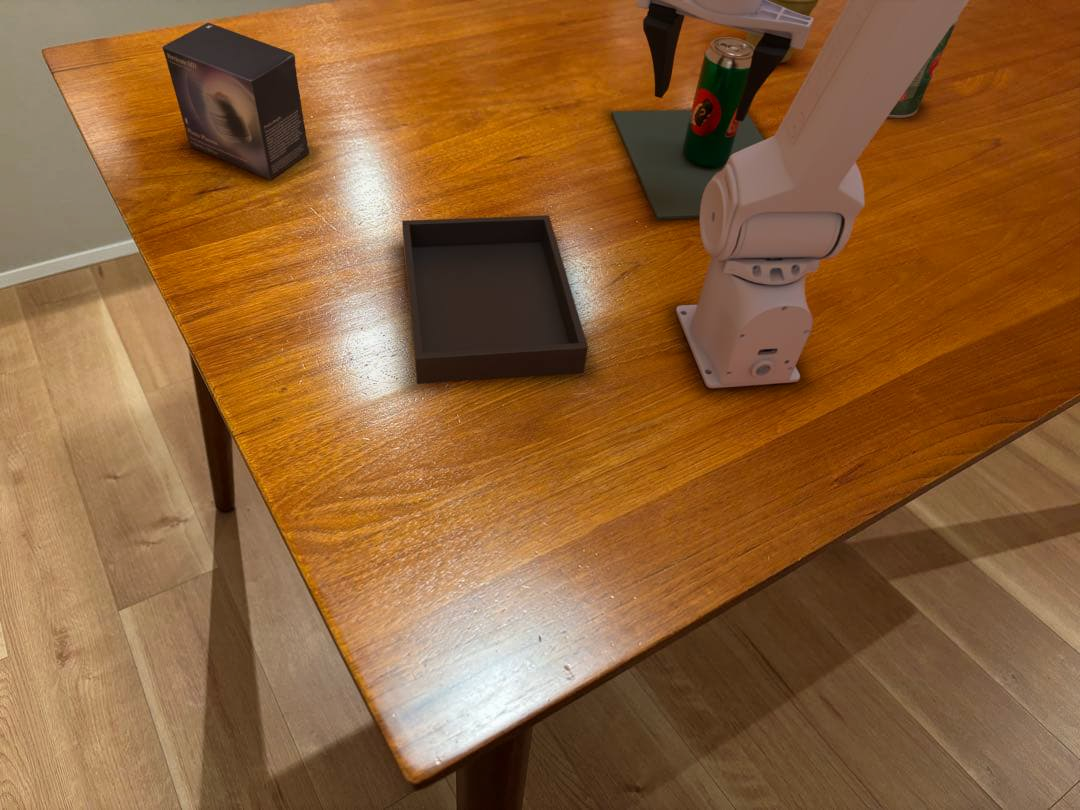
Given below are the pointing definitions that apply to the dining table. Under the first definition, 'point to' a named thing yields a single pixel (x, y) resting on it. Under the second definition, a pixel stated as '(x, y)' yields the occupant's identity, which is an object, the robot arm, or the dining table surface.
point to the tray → (489, 300)
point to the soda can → (717, 102)
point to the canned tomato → (920, 82)
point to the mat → (671, 159)
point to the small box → (238, 99)
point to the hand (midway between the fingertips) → (700, 104)
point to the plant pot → (800, 3)
